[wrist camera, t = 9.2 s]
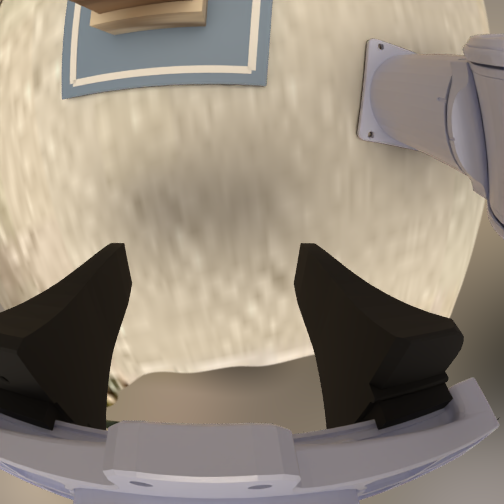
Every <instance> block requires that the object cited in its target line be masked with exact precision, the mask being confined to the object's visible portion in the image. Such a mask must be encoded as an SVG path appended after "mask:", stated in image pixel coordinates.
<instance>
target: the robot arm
mask: <svg viewBox="0 0 504 504" xmlns="http://www.w3.org/2000/svg"><path fill="white" fill-rule="evenodd" d="M378 44H380V45H381V47H382V49H381V50H380V49H379V48H378ZM463 52H464V55H451V54H417V53H414V52H412V51H409V50H406V49H404V48H401V47H398V46H395V45H393V44H390V43H387V42H384V41H380V40H377V39H370V40H368V41H367V49H366V62H365V73H364V83H363V92H362V101H361V109H360V116H359V124H358V131H357V135H358V137H359V138H360V139H362V140H366V141H372V142H378V143H383V144H388V145H393V146H398V147H403V148H408V149H412V150H417V151H421V152H423V153H425V154H427V155H429V156H431V157H433V158H435V159H437V160H439V161H441V162H443V163H445V164H447V165H449V166H451V167H453V168H454V169H456V170H458V171H460V172H462V173H463V174H465V175H467V176H468V177H469V178H470V180H471V182H472V186H473V191H475V192H476V193H478V194H479V195H481V196H482V197H484V198H485V199H487V213H488V218H489V221H490V223H491V225H492V227H493V228H494V230H495V231H496V232H497V233H498V234H499V236H501V237H502V238H503V239H504V34H481V35H474V36H471V37H470V38H469V40H468V42H467V44H466V45H464V46H463ZM369 132H372V135H371V137H368V133H369ZM131 287H132V280H131V276H130V271H129V266H128V261H127V256H126V250H125V245H124V243H110V244H109V245H107V246H106V247H104V248H103V249H102V250H100V251H99V252H98V253H96V254H95V255H94V256H93V257H91V258H90V259H89V260H87V261H86V262H85V263H84V264H82V265H81V266H80V267H79V268H77V269H76V270H74V271H73V272H72V273H70V274H69V275H68V276H66V277H65V278H64V279H62V280H61V281H60V282H58V283H57V284H55V285H54V286H52V287H50V288H49V289H47V290H46V291H44V292H42V293H41V294H39V295H37V296H35V297H33V298H31V299H29V300H27V301H26V302H24V303H22V304H19V305H17V306H15V307H13V308H10V309H8V310H6V311H3V312H1V313H0V469H2V470H3V471H5V472H7V473H9V474H11V475H13V476H16V477H18V478H20V479H22V480H24V481H26V482H28V483H30V484H33V485H35V486H37V487H40V488H43V489H45V490H47V491H50V492H52V493H55V494H57V495H60V496H63V497H66V498H69V499H72V500H74V501H73V504H360V503H359V500H362V499H365V498H368V497H371V496H374V495H377V494H380V493H382V492H385V491H388V490H390V489H393V488H395V487H398V486H400V485H402V484H405V483H407V482H409V481H412V480H414V479H416V478H418V477H420V476H423V475H425V474H427V473H429V472H431V471H433V470H435V469H437V468H439V467H441V466H443V465H445V464H447V463H449V462H450V461H452V460H454V459H456V458H458V457H460V456H461V455H463V454H464V453H466V452H467V451H468V450H470V449H471V448H472V447H474V446H475V445H477V444H478V443H479V442H481V441H482V440H483V439H485V438H486V437H487V436H488V435H490V434H491V433H492V432H493V431H494V430H495V429H497V428H498V427H499V423H498V421H497V419H496V417H495V415H494V413H493V411H492V409H491V407H490V405H489V403H488V402H487V400H486V398H485V396H484V394H483V392H482V391H481V389H480V387H479V385H478V383H477V382H476V380H475V378H473V377H472V378H469V379H467V380H464V381H462V382H460V383H457V384H455V385H453V386H452V387H451V388H449V389H448V388H447V386H446V384H445V382H447V381H448V376H447V374H446V373H445V370H446V369H447V368H448V367H449V365H450V364H451V363H452V361H453V360H454V359H455V357H456V356H457V355H458V352H459V351H460V350H461V347H462V344H463V341H464V336H463V335H462V333H461V331H460V330H459V328H458V327H457V326H456V324H455V323H454V322H453V320H452V319H450V318H446V317H443V316H439V315H436V314H432V313H429V312H426V311H424V310H421V309H418V308H416V307H413V306H411V305H408V304H406V303H404V302H402V301H400V300H398V299H396V298H394V297H391V296H390V295H388V294H386V293H384V292H382V291H381V290H379V289H377V288H375V287H374V286H372V285H370V284H369V283H367V282H366V281H364V280H363V279H361V278H360V277H359V276H357V275H356V274H354V273H353V272H352V271H350V270H349V269H348V268H346V267H345V266H344V265H342V264H341V263H340V262H339V261H337V260H336V259H335V258H333V257H332V256H331V255H330V254H328V253H327V252H326V251H325V250H323V249H322V248H321V247H319V246H318V245H316V244H315V243H301V245H300V251H299V257H298V263H297V268H296V274H295V280H294V287H295V292H296V297H297V302H298V305H299V308H300V311H301V314H302V317H303V320H304V323H305V326H306V328H307V331H308V334H309V337H310V340H311V343H312V346H313V349H314V353H315V357H316V361H317V367H318V371H319V376H320V382H321V388H322V394H323V401H324V409H325V417H326V427H327V429H325V430H320V431H313V432H307V433H300V434H292V432H291V430H289V429H287V428H284V427H281V426H278V425H275V424H268V423H267V424H266V423H237V424H185V423H164V422H151V421H121V422H119V423H117V424H115V425H112V426H110V427H109V428H108V431H106V404H107V390H108V381H109V372H110V366H111V360H112V354H113V350H114V346H115V343H116V339H117V336H118V333H119V330H120V327H121V324H122V321H123V318H124V315H125V312H126V309H127V306H128V302H129V297H130V292H131Z"/></svg>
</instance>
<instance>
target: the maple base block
mask: <svg viewBox="0 0 504 504" xmlns="http://www.w3.org/2000/svg"><path fill="white" fill-rule="evenodd" d="M207 7H208V0H190V1H176V2H166V3H157V4H149V5H143V6H136V7H131V8H125V9H120V10H115V11H111V12H106V13H102V14H98V13H96V12H94V11H92V10H91V18H90V26H91V27H94V28H97V29H99V30H102V31H105V32H107V33H110V34H113V35H118V34H124V33H130V32H137V31H145V30H153V29H164V28H177V27H200V26H206V19H207Z"/></svg>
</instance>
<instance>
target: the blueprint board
mask: <svg viewBox="0 0 504 504" xmlns="http://www.w3.org/2000/svg"><path fill="white" fill-rule="evenodd" d="M272 1H273V0H208V7H207V19H206V26H200V27H177V28H164V29H153V30H145V31H137V32H130V33H124V34H118V35H113V34H110V33H107V32H105V31H102V30H99V29H97V28H94V27H91V26H90V18H91V10H90V9H88V8H85V7H83V6H81V5H79V4H76V3H74V2H72V1H69V0H68V2H67V9H66V17H65V26H64V37H63V53H62V99H68V98H73V97H78V96H83V95H88V94H94V93H100V92H107V91H114V90H121V89H130V88H139V87H150V86H163V85H183V84H237V85H257V86H266V84H267V70H268V56H269V43H270V29H271V15H272Z"/></svg>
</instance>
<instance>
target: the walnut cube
mask: <svg viewBox="0 0 504 504" xmlns="http://www.w3.org/2000/svg"><path fill="white" fill-rule="evenodd" d="M69 1H72V2H74V3H76V4H79V5H81V6H83V7H85V8H88V9H90V10H92V11H94V12H96V13H98V14H102V13H106V12H111V11H115V10H120V9H125V8H131V7H136V6H143V5H149V4H157V3H166V2H176V1H190V0H69Z"/></svg>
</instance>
